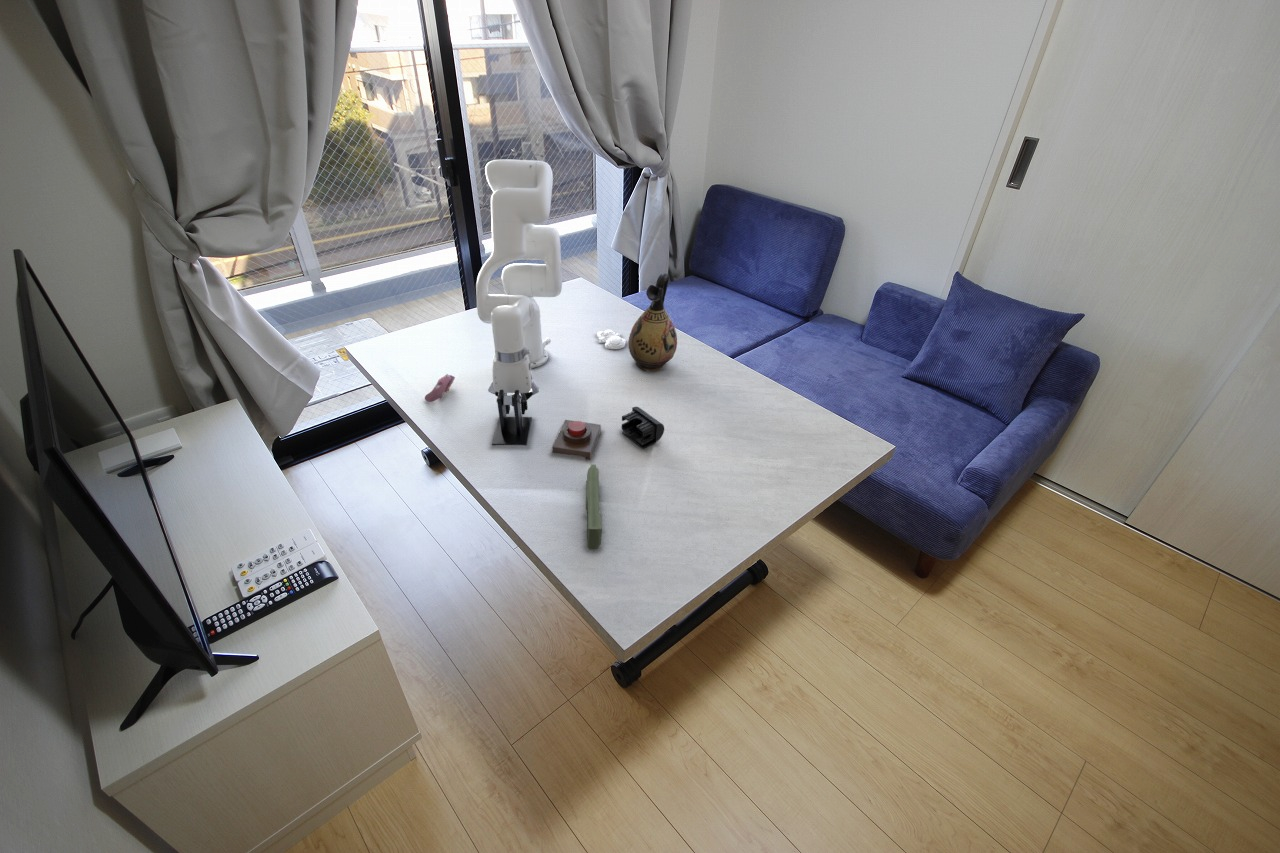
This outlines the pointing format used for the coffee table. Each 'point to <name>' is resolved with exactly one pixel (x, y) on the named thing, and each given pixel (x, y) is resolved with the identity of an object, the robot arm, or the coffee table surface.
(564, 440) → the button box
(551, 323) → the coffee table surface
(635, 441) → the end cap
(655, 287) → the ceramic jug
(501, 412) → the switch bracket
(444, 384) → the video game controller
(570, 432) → the button
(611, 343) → the white fluffy lump
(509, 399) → the switch lever
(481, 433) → the coffee table surface
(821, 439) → the coffee table surface
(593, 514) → the handheld radio
